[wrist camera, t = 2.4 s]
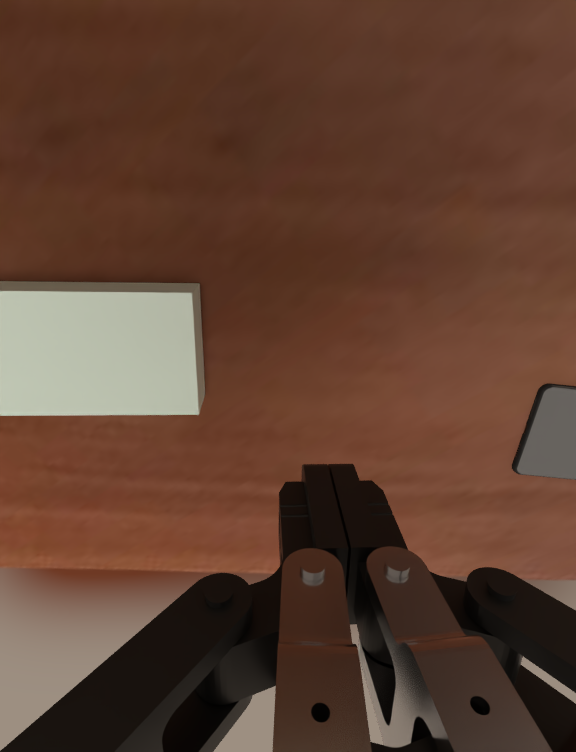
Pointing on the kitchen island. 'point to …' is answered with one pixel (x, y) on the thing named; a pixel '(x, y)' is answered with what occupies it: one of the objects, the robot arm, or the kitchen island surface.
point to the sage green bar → (100, 348)
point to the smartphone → (550, 435)
